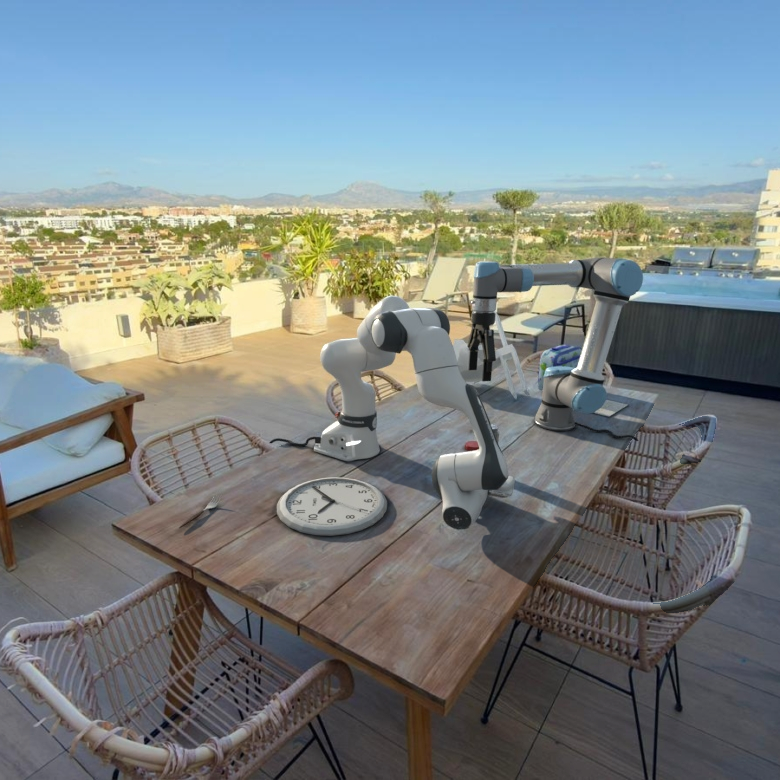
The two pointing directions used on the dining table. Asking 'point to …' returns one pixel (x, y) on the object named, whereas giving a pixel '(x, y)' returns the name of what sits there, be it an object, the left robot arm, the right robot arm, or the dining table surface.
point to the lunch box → (558, 359)
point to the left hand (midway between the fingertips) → (482, 469)
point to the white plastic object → (501, 357)
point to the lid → (471, 445)
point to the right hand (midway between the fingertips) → (479, 375)
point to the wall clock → (331, 506)
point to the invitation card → (610, 408)
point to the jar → (495, 431)
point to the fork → (209, 506)
